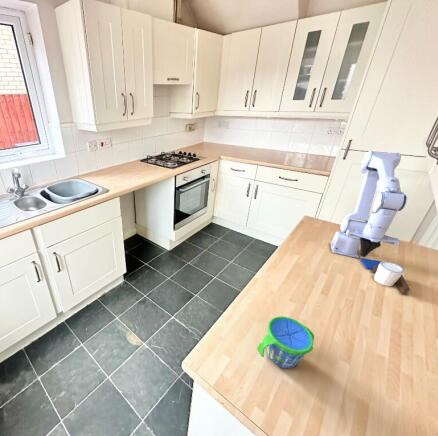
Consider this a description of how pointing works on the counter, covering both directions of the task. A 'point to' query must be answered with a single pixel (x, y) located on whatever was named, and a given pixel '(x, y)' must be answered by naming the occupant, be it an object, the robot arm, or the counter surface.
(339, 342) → the counter surface
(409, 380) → the counter surface
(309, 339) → the snack cup
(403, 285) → the corner guard
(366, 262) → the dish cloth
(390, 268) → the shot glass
